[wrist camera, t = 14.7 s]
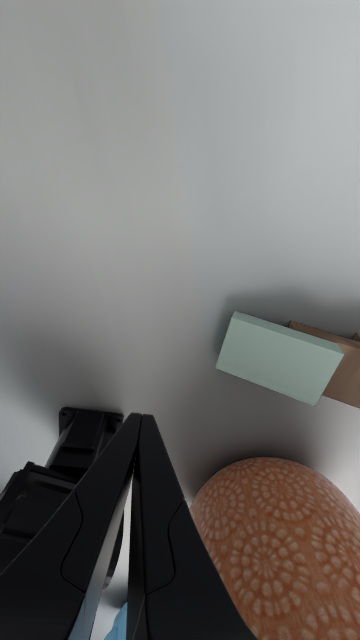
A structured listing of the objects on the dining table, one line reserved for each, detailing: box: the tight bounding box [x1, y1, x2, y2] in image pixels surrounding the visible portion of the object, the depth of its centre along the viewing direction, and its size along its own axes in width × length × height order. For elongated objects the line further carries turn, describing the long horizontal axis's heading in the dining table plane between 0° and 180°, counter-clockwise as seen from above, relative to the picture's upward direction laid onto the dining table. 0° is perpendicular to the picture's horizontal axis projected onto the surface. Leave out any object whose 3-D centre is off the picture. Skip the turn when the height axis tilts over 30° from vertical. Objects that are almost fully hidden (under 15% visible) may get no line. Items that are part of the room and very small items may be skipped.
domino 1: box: [215, 311, 344, 406], centre depth 21 cm, size 2×5×8 cm
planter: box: [189, 457, 360, 640], centre depth 23 cm, size 21×21×19 cm
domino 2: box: [288, 321, 360, 408], centre depth 21 cm, size 2×5×8 cm
